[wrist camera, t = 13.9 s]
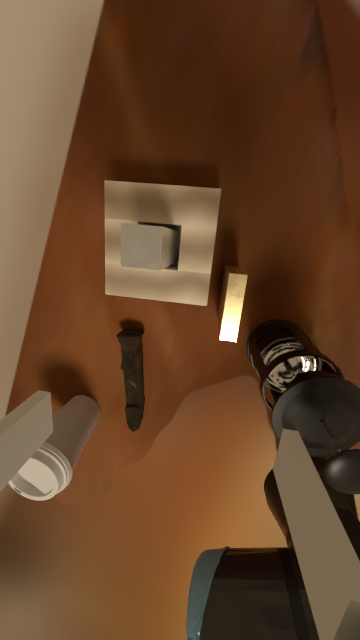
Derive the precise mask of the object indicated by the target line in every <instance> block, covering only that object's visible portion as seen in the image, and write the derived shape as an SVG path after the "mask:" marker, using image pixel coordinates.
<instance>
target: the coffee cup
mask: <svg viewBox="0 0 360 640" xmlns="http://www.w3.org/2000/svg"><path fill="white" fill-rule="evenodd" d="M99 416H100V407H99V405H98V404H97V402H96V401H95V400H94V399H92V398H91V397H88V396H85V395H77V396H75V397H73V398H72V399H71V400H70V401H69V402H67V403H66V404H65V405H64V406H63V407H62V408H61V409H60V410H59V411H58V412H56V413H55V414H54V415H53V416H52V420H53V433H52V434H51V435H50V436H49V437H48V438H47V439H46V441H45V442H44V443H43V444H42V445H41V446H40V447H39V448H38V450H37V451H36V452H35V453H34V454H33V455H32V456H31V457H30V459H29V460H28V461H27V462H26V463H25V464H24V465H23V466H22V468H21V469H20V470H19V471H18V472H17V473H16V474H15V475H14V477H13V478H12V479H11V480H10V481H9V482H8V483H9V484H10V486H11V487H12V488H13V489H14V490H15V491H16V492H18V493H19V494H21V495H22V496H24V497H27V498H29V499H32V500H47V499H50V498H52V497H53V496H54V495H55V494H57V493H59V492H60V491H62V490H63V489H64V488H65V487H66V486H67V485H68V484H69V483H70V481H71V478H72V470H73V468H74V466H75V464H76V462H77V460H78V458H79V456H80V454H81V452H82V450H83V448H84V446H85V444H86V442H87V440H88V438H89V436H90V434H91V432H92V430H93V428H94V426H95V424H96V422H97V420H98V418H99Z"/></svg>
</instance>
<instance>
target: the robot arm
mask: <svg viewBox="0 0 360 640" xmlns="http://www.w3.org/2000/svg"><path fill="white" fill-rule="evenodd" d="M52 433H53V420H52V407H51V393H50V392H45V391H37V392H36V393H34V394H33V395H32V396H31V397H29V398H28V399H27V400H26V401H24V402H23V403H22V404H21V405H19V406H18V407H17V408H15V409H14V410H13V411H12V412H10V413H9V414H8V415H7V416H5V417H4V418H3V419H2V420H1V421H0V491H1V490H2V489H3V488H4V487H5V485H6V484H7V483H8V482H9V481H10V480H11V479H12V478H13V477H14V475H15V474H16V473H17V472H18V471H19V470H20V469H21V468H22V466H23V465H24V464H25V463H26V462H27V461H28V460H29V459H30V457H31V456H32V455H33V454H34V453H35V452H36V451H37V450H38V448H39V447H40V446H41V445H42V444H43V443H44V442H45V441H46V439H47V438H48V437H49V436H50V435H51V434H52ZM326 462H327V461H325V460H321V459H317V458H311V457H310V455H309V453H308V451H307V449H306V447H305V445H304V443H303V441H302V438H301V436H300V434H299V432H298V431H294V430H288V429H283V431H282V435H281V439H280V443H279V447H278V452H277V456H276V460H275V464H274V468H273V469H272V470H271V471H270V472H269V474H268V475H267V477H266V479H265V483H264V491H265V496H266V500H267V504H268V506H269V508H270V510H271V512H272V514H273V515H274V517H275V519H276V521H277V523H278V525H279V527H280V528H281V530H282V532H283V534H284V536H285V538H286V541H287V545H288V548H287V547H286V548H230V547H224V548H220V549H209V550H205V551H204V552H202V553H201V554H200V556H199V557H198V559H197V561H196V564H195V567H194V569H193V574H192V578H191V583H190V589H189V597H188V606H187V621H186V633H187V635H188V636H187V640H360V522H359V519H358V514H357V509H356V505H355V499H354V494H345V493H341V492H338V491H336V490H334V489H332V488H331V487H330V486H329V485H328V484H327V483H326V481H325V479H324V477H323V469H324V466H325V464H326Z"/></svg>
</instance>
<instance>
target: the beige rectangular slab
mask: <svg viewBox="0 0 360 640" xmlns="http://www.w3.org/2000/svg"><path fill="white" fill-rule="evenodd" d="M247 277H248V275H247V274H246V273H245V272H244V271H243V270H242V269H241V268H239V267H238V266H228V265H225V268H224V275H223V282H222V289H221V296H220V303H219V310H218V327H219V340H225V341H233V342H236V340H237V334H238V329H239V323H240V317H241V311H242V306H243V300H244V294H245V288H246V282H247Z"/></svg>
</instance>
